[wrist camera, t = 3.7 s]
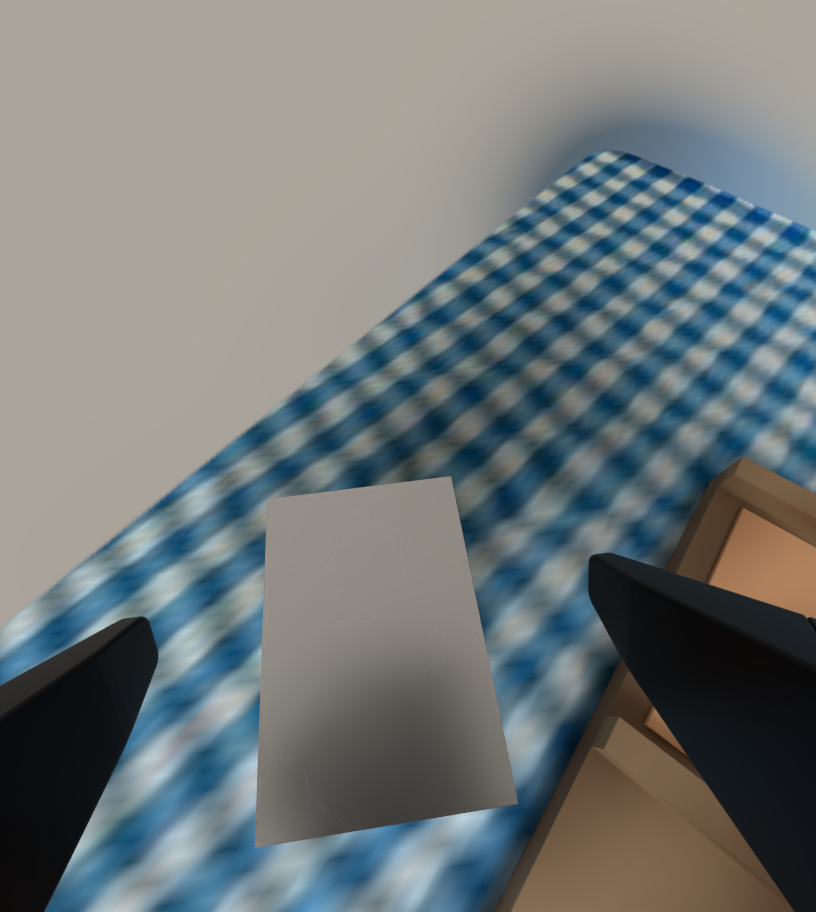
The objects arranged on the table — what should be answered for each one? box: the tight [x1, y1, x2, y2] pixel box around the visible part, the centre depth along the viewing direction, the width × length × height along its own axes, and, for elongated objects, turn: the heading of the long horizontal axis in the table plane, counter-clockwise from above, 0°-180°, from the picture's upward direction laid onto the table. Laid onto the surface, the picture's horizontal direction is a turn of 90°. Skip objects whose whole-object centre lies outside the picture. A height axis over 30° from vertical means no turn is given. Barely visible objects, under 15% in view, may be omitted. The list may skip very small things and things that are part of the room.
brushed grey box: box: [255, 476, 518, 848], centre depth 11 cm, size 5×4×10 cm
